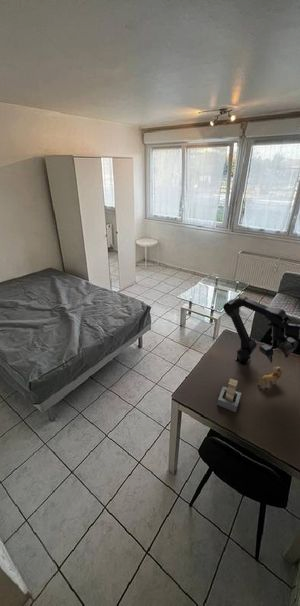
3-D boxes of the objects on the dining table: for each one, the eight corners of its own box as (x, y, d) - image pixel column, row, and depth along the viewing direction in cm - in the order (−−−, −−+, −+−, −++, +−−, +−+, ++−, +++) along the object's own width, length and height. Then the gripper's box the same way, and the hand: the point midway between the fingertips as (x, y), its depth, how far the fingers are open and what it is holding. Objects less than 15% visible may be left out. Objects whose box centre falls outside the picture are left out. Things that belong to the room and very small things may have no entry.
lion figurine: (272, 375, 141) (276, 363, 137) (281, 381, 137) (285, 369, 133) (254, 386, 135) (258, 373, 130) (263, 393, 131) (267, 380, 126)
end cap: (221, 391, 131) (223, 386, 129) (239, 398, 128) (241, 393, 126) (216, 404, 125) (218, 399, 123) (235, 412, 121) (237, 406, 119)
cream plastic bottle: (226, 397, 128) (230, 378, 121) (233, 399, 126) (237, 381, 120) (224, 402, 125) (228, 383, 119) (231, 405, 124) (236, 386, 117)
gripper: (273, 346, 120) (273, 373, 126) (307, 335, 123) (306, 362, 129) (258, 336, 130) (259, 362, 136) (289, 326, 134) (289, 352, 139)
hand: (278, 360), depth 135 cm, fingers open, 9 cm apart
